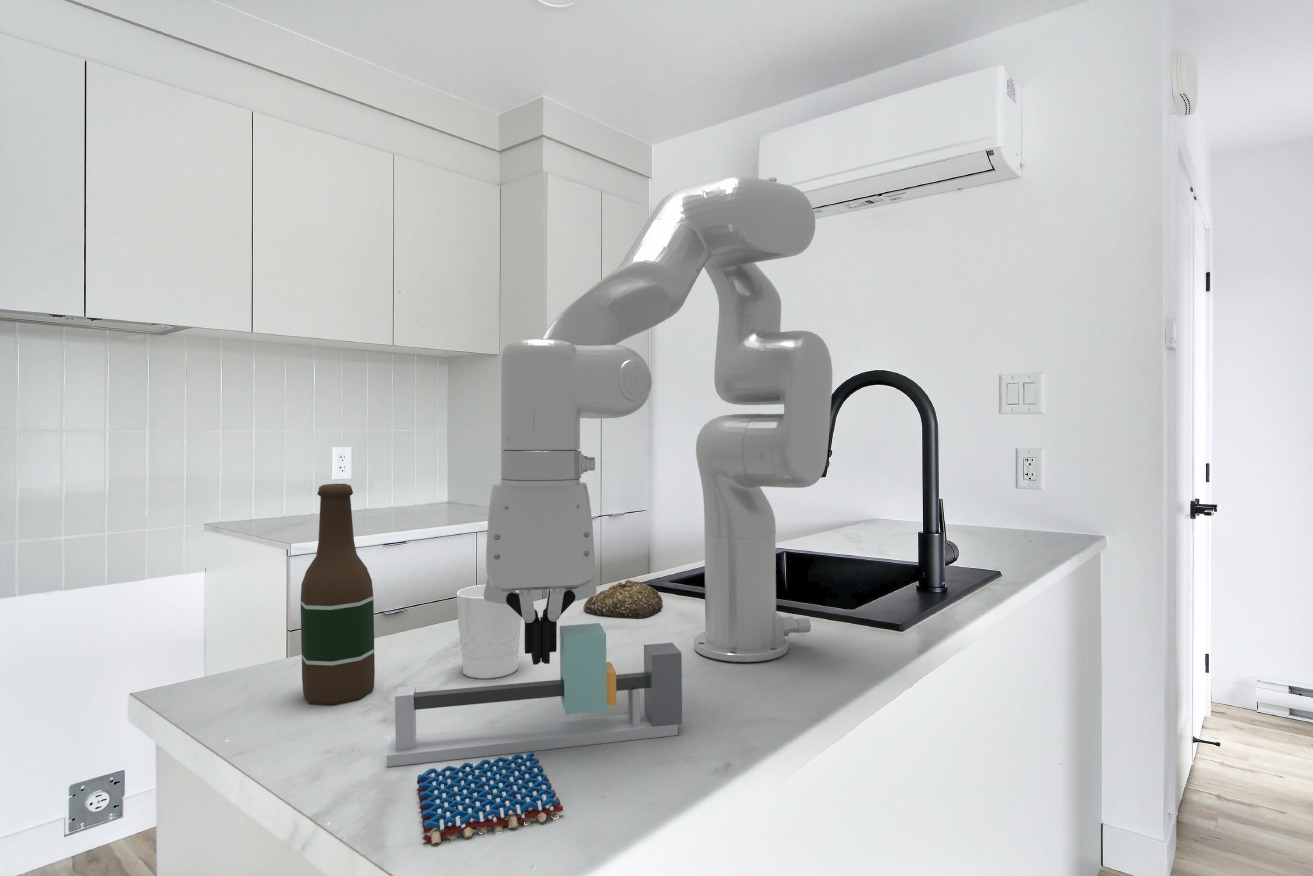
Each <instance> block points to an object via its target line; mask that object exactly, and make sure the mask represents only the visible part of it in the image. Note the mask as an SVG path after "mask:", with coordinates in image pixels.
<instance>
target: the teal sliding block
mask: <svg viewBox="0 0 1313 876" xmlns="http://www.w3.org/2000/svg"><path fill="white" fill-rule="evenodd" d="M606 662H607V633H606V632H605V630H604V628H603V626H602V624H601V623H600V622H598V623H597V622H595V623H583V624H569V625H568V624H567V625H559V673H560V674H559V677H560V678H559V680H562V679H563V681H564V696H560V703H561V705H562V710H563V714H564V715H567V716H568V715H576V714H586V713H588V714H589V713H595V712H597V713H598V712H605V711H608V706H607V671H606Z"/></svg>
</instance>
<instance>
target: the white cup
mask: <svg viewBox="0 0 1313 876" xmlns="http://www.w3.org/2000/svg"><path fill="white" fill-rule="evenodd" d="M485 586H486V583H485V584H478V585H471V586H468V587H464V588H461V589H459V590H457V592H456V602H457V604H456V605H457V606H456V607H457V618H458V619H457V620H458V621H457V623H458V633H459V643H460V644H459V645H460V652H461V656H462V661H461V662H462V674H463V675H465V676H466V677H469V678H474V679H485V680H486V679H496V678H497V679H498V678H503V677H505V676H509V675H511V674H514V673H515V672H517V670H518V669H519V647H520V641H521V640H520V639H521V620H522V619H521V618H522V617H521V616H520V615H518V614H517V613H516V612H515V611H514V610H513V609H512V608H511V607H510V606H509V605H506V604H500V603H495V602H490V601H486V600H485V599H484V590H485ZM514 591H516V592H517V593H518V590H514ZM518 594H519V593H518Z"/></svg>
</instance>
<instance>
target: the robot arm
mask: <svg viewBox="0 0 1313 876" xmlns="http://www.w3.org/2000/svg"><path fill="white" fill-rule="evenodd" d="M815 232H816V215H815V211H814V207H813V206H812V204H811V201H810V200H809V198H808V197H807V196H806V194H805V193H804V192H803V191H801V190H800V189H798V188H797V187H795V186H791V185H788V184H783V183H780V182H776V181H771V180H767V179H762V178H758V177H752V176H745V175H734V176H728V177H722V178H719V179H715V180H711V181H706V182H703V183H699V184H694V185H690V186H685V187H682V188H680V189H676V190H673V191H672V192H670V193H668V194H667V195H665V196H664V197H663V198H662V199H661V200H660V201H659V202H658V204H657V205H656V207H655V208H654V209H653V212H652V213H651V214H650V216H649V218H648V219H647V221H646V223H645V224H644V226H643V227H642V228H641V231H640V232H639V233H638V236H636V239H635V240H634V242H633V244H632V245H631V246H630V248H629V249H628V251H627V253H626V254H625V256H624V257H623V260H622V261H621V262H620V263H619V265H618V266H617V268H616V269H614V270H613V271H611V272H610V273H609V274H607V275H606V276H605V277H603V278H601V280H599V281H598V282H597V283H595V284H594V285H593V286H591V288H589V289H588V290H586V291H585V292H584V293H583V294H581V295H580V296H579V297H578V298H577V299H575V300H574V301H573V302H572V303H570V304H569V305H567V307H566V308H565V309H564V310H562V311H561V313H559V315H557V317H555V319H554V320H553V321H552V322H551V324H550V325H549V326H548V328H547V329H546V330H545V332H544V333H543V335H542V337H541V338H524V339H518V340H517V339H516V340H513V341H511V342H508V343H507V344H506V345H505V346H504V348H503V350H502V352H501V364H500V367H501V369H500V371H501V373H500V377H501V379H500V389H501V390H500V414H501V415H500V450H501V451H500V482H496V483H493V484H492V488H491V492H490V493H491V494H490V497H489V498H490V499H489V505H488V506H489V507H488V515H487V529H486V530H487V534H486V551H485V557H486V558H485V562H486V563H485V565H486V574H487V577H486V582H485V584H486V586H485V590H484V599H485V600H486V601H490V602H495V603H500V604H506V605H509V606H510V607H511V608H512V609H513V610H514V611H515V612H516V613H517V614H518V615H520V616H521V618H522V620H523V621H524V654H526V655H527V654H531V661H532V665H535V666H536V665H539V664H541V663H543V665H549V664H550V663H551V662H550V661H551V653H557V645H558V644H557V643H558V642H557V632H558V631H557V629H558V628H557V627H558V626H557V624H558V623H557V621H558V620H559V619H560V618H561V616H562V615H563V613H565V611H566V610H567V609H568V608H569V607H570V606H571V605H572V604H573V603H575V602H578V601H582V600H587V599H589V598H590V597H593V596H595V595H597V593H598V592H597V590H598V589H597V586H596V582H595V578H594V577H595V544H594V542H595V541H594V529H593V528H594V527H593V514H592V509H591V507H592V506H591V499H590V496H589V490H588V485H587V483H586V482H583V481H582V482H581V479H582V475H584V473H587V472H588V471H589V472H590V471H593V472H594V471H595V470H596V459H595V457H594V456H593V457H590V456H588V455H584V454H583V453H582V450H581V419H619V418H623V417H627V416H630V415H632V414H633V413H635V412H637V411H638V410H640V409H641V408H642V407H643V406H644V405H645V404H646V402H647V400H648V398H649V397H650V394H651V391H652V384H653V381H652V380H653V379H652V373H651V371H650V368H649V366H648V363H647V362H646V361H645V359H644V358H643V356H642V355H640V353H638V352H636V351H635V350H633V349H632V348H630V347H627V346H624V345H621V344H619V343H621V342H622V341H625V340H626V339H629V338H631V337H633V336H636V335H638V334H641V333H643V332H646V331H647V330H650V329H652V328H653V327H655V326H658V325H659V324H661V323H663V322H665V321H666V320H668V319H670V318H671V317H673V316H674V315H676V314H677V313H678V312H679V311H680V310H681V309H682V307H683V306H684V304H685V302H686V300H687V298H688V296H689V294H690V293H691V291H692V289H693V287H694V285H695V283H696V281H697V279H698V277H699V275H700V274H701V272H702V270H703V268H704V269H705V271H706V273H707V275H708V277H709V279H710V280H711V283H712V284H713V287H714V290H715V292H716V295H717V296H716V297H717V299H718V300H717V301H718V322H717V323H718V324H717V337H716V344H715V345H716V347H715V357H714V359H715V360H714V373H713V376H714V377H713V378H714V379H713V380H714V382H713V383H714V388H715V391H716V393H717V396H719V398H720V399H721V400H722V401H724V402H726V403H728V404H732V405H738V406H770V405H771V406H772V405H778V406H779V405H783V411H784V412H783V413H736V414H735V413H734V414H733V413H732V414H725V415H720V416H717V417H714V418H713V419H710V420H709V421H707V422H706V423H705V424H704V425H703V427H701V428H700V431H699V432H698V435H697V437H696V438H697V439H696V442H695V454H696V462H697V467H698V468H697V469H698V472H699V476H700V482H701V487H702V488H701V489H702V495H703V498H702V500H703V511H704V512H703V513H704V514H703V516H704V518H703V519H704V602H705V604H704V606H705V607H704V610H705V611H704V612H705V614H704V615H705V616H704V617H705V618H704V619H705V623H704V624H705V627H704V628H705V632H702V633H699V634H698V635H697V636H695V637H694V639H693V640H694V641H693V647H694V650H695V651H696V653H698V654H699V655H702V656H704V657H706V658H710V659H713V660H718V661H725V662H732V663H733V662H734V663H736V662H737V663H754V662H755V663H756V662H764V661H770V660H774V659H778V658H781V657H782V656H784V655H785V654H786V653H787V652H788V650H789V641H788V640H787V638H786V637H788V636H789V635H790V634H792V633H794V634H795V633H796V634H804V633H810V632H811V631H812V630H811V629H812V623H811V620H810V618H808V617H804V618H803V617H801V618H794V616H793V615H791V616H790V615H789V616H781V615H780V614H779V613H777V579H776V578H777V573H776V571H777V567H776V566H777V565H776V563H777V562H776V561H777V559H776V558H777V557H776V556H777V555H776V553H777V551H776V545H777V544H776V534H777V533H776V529H777V528H776V527H777V526H776V518H775V514H774V511H773V508H772V506H771V503H770V502H769V499H768V497H766V494H765V493H764V491H763V490H762V487H765V488H786V489H787V488H789V489H790V488H792V489H793V488H794V489H795V488H796V489H800V488H801V489H802V488H807V487H811V486H813V485H814V484H816V483H817V482H818V481H819V480H820V479H821V477H822V475H823V474H824V472H825V468H826V465H827V459H828V451H829V450H828V449H829V437H830V425H831V424H830V423H831V422H830V421H831V410H832V409H831V408H832V396H833V395H832V394H833V393H832V392H833V363H832V356H831V354H830V351H829V348H828V346H827V344H826V343H825V341H824V339H823V338H821V336H819V335H818V334H817V333H815V332H813V331H808V330H790V331H789V330H788V331H787V330H786V331H781V323H782V321H781V320H782V319H781V318H782V300H781V297H780V294H779V292H778V290H777V288H776V286H775V285H774V283H773V282H772V281H771V280H770V278H768V275H766V274H765V273H764V272H763V271H762V270H761V269H760V267H759V266H758V265H757V264H756V263H758V262H759V263H761V262H766V261H771V260H777V259H778V260H779V259H786V258H791V257H796V256H798V255H800V254H801V253H803V252H805V251H806V250H807V248H809V246H810V245H811V243H812V241H813V239H814V236H815ZM514 590H518V593H519V594H518V593H517V592H516V591H514ZM533 590H534V591H535V590H547V595H546V596H547V597H546V604H545V608H544V609H543V610H542V614H541V616H539V614H538V613H539V612H538V611H537V610H536V609H535V604H534V597H533V592H532V591H533Z"/></svg>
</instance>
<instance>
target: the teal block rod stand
mask: <svg viewBox="0 0 1313 876" xmlns="http://www.w3.org/2000/svg"><path fill="white" fill-rule="evenodd" d="M682 658H683V657H682V651H680V650H679V648H678V647H677V646H676V645H675V644H674V643H673V642H663V643H651V644H643V672H631V673H621V674H617V671H616V669H615V668H614V666H613V664H612V662H611V661H606V671H607V707H610V706H617V692H621V691H627V713H625V714H614V715H606V716H605V715H604V716H596V717H586V718H585V717H584V718H574V719H563V720H555V721H546V722H545V721H544V722H534V723H526V724H516V725H507V726H506V725H504V726H497V727H485V728H476V729H467V730H457V731H455V730H454V731H446V732H437V733H428V734H427V733H426V734H417V710H428V709H437V708H440V709H441V708H449V707H459V706H460V707H461V706H470V705H479V704H480V705H481V704H491V703H502V702H503V703H504V702H512V701H522V700H533V699H534V700H535V699H543V698H544V699H545V698H556V697H557V698H559V697H561V696H564V681H563V679H562V680H560V679H551V680H542V681H532V682H531V681H530V682H529V681H528V682H518V683H509V684H508V683H507V684H494V685H486V686H471V687H463V688H451V689H450V688H449V689H439V690H430V691H429V690H428V691H418V692H416V686H415V685H413V686H402V687H401V686H399V687H397V688H396V692H395V694H394V695H395V696H394V713H395V714H394V717H395V718H394V719H395V720H394V721H395V722H394V723H395V729H394V730H395V737H391V739H390V743H389V745H388V746H389V747H388V750H387V753H386V767H387V768H389V767H390V768H391V767H398V766H399V767H400V766H407V765H416V764H425V763H427V764H428V763H434V762H435V763H436V762H443V761H453V760H462V759H471V758H481V757H489V756H490V757H492V756H498V755H499V756H500V755H509V754H517V753H518V754H520V753H527V752H535V751H536V752H537V751H544V750H545V751H546V750H552V749H563V748H570V747H571V748H572V747H573V748H574V747H581V746H591V745H599V744H609V743H619V742H625V741H627V742H628V741H635V740H636V741H637V740H644V739H645V740H646V739H654V738H663V737H671V736H678V735H679V730H678V729H679V725H681V724H683V682H682V681H683V669H682V668H683V667H682V664H683V663H682V661H683V659H682ZM641 689H643V690H644V691H643V692H644V693H643V694H644V695H643V697H644V698H643V699H644V700H643V701H644V706H643V707H644V711H643V712H640V709H641V708H640V690H641Z"/></svg>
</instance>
